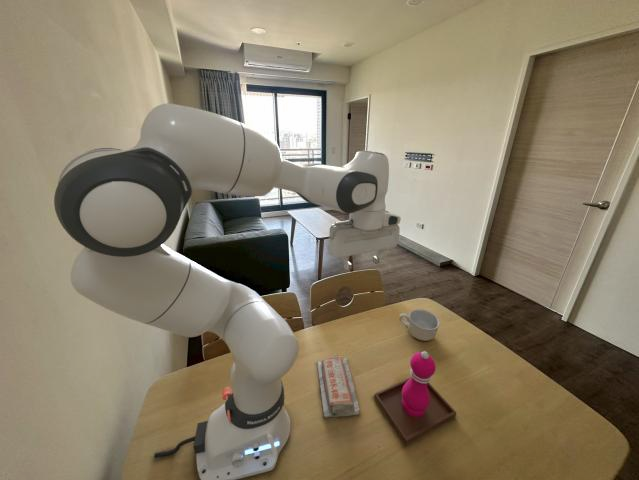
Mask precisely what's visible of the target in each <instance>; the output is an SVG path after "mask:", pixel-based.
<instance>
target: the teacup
mask: <svg viewBox="0 0 639 480" xmlns="http://www.w3.org/2000/svg"><path fill="white" fill-rule="evenodd" d="M403 318H406V321H407V322H406V321H405V320H404V319H403ZM398 319H399V322H400V323H401V324H402V325H403V326H405V328H406V329H407V330H408V332H409V334H410V335H411V336H412V337H414V339H416V340H419V341H424V342H427V341H431V340H433V339H434V338H435V337H436V336H437V333H438V331H439V327H440V324H441V323H440V319H439V317H437V315H436V314H435V313H433V312H431V311H429V310H426V309H423V308H422V309H420V308H416V309H413V310H411V311H410V312H409V314H407V313H405V312H404V313H401V314H399V317H398Z"/></svg>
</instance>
